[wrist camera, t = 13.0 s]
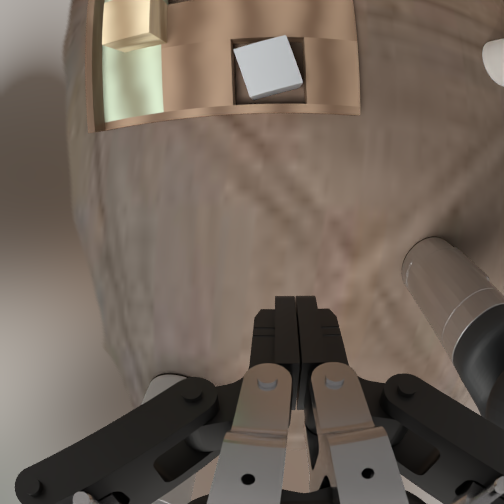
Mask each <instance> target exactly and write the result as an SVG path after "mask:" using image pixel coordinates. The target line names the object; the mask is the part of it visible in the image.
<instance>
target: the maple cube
mask: <svg viewBox="0 0 504 504" xmlns="http://www.w3.org/2000/svg"><path fill="white" fill-rule="evenodd" d="M166 43H167V4H166V3H165V2H164V1H163V0H112V1H109V2H106V3H104V12H103V29H102V45H104V46H107V47H110V48H113V49H116V50H118V51H121V52H124V53H125V52H129V51H133V50H137V49H142V48H146V47H151V46H156V45H161V44H166Z"/></svg>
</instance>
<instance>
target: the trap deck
mask: <svg viewBox="0 0 504 504" xmlns="http://www.w3.org/2000/svg"><path fill="white" fill-rule="evenodd" d="M109 1H112V0H88V9H87V23H86V45H85V85H86V108H87V123H88V133H94V132H100V131H107V130H112V129H118V128H123V127H129V126H135V125H141V124H147V123H154V122H161V121H169V120H177V119H186V118H196V117H207V116H219V115H235V114H259V113H315V114H338V115H354V116H357V115H360V82H359V61H358V46H357V33H356V23H355V13H354V5H353V0H192V1H186V2H180V3H175V4H170V5H168V0H163V1H164V2H165V3H166V4H167V43H166V44H161V45H156V46H151V47H146V48H142V49H137V50H133V51H129V52H125V53H124V52H121V51H118V50H116V49H113V48H110V47H107V46H104V45H102V29H103V12H104V3H106V2H109ZM284 35H286V36H287V39H288V42H299V43H302V50H303V71H304V97H305V104H248V105H236V98H235V74H234V50H233V44H244V43H257V42H260V41H264V40H268V39H271V38H275V37H279V36H284Z"/></svg>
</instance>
